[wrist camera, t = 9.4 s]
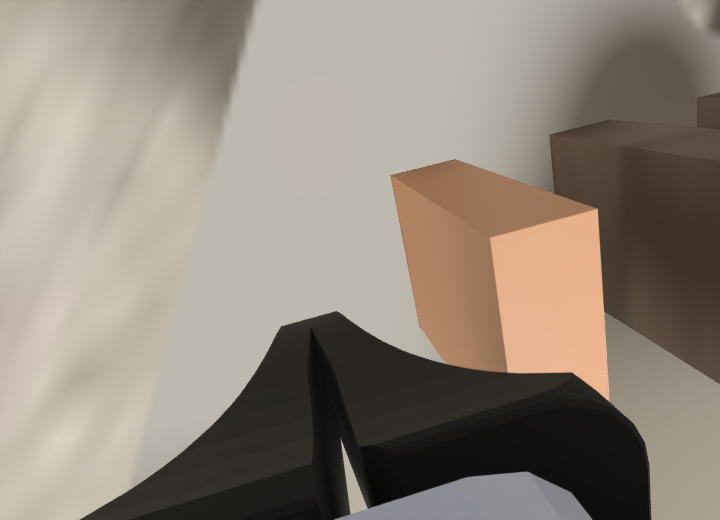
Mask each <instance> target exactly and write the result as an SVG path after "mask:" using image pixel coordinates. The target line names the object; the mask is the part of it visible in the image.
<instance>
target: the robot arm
mask: <svg viewBox="0 0 720 520" xmlns="http://www.w3.org/2000/svg"><path fill="white" fill-rule="evenodd" d="M340 437H341V439H340ZM341 440H342V443H343V445H344V448H345V451H346V453H347V456H348V458H349V461H350V464H351V466H352V469H353V471H354V474H355V477H356V479H357V482H358V484H359V487H360V490H361V492H362V495H363V497H364V500H365V503H366V505H367V508H368V509H366V510H363V511H360V512H357V513H354V514H350V507H349V500H348V492H347V484H346V477H345V469H344V462H343V454H342V446H341ZM650 502H651V501H650V472H649V461H648V456H647V451H646V446H645V442H644V441H643V439H642V437H641V435H640V434H639V432H638V430H637V429H636V427H635V426H634V424H633V423H632V422H631V421H630V420H629V419H628V418H627V417H626V416H624V415H623V414H622V413H621V412H620V411H619V410H618V409H616V408H615V407H614V406H613V405H612V404H611V403H610V402H609V401H608V400H607V399H606V398H605V397H603V396H602V395H601V394H600V393H599V392H598V391H596V390H595V389H594V388H592V387H591V386H590V385H589V384H587V383H586V382H585V381H583V380H582V379H581V378H579V377H578V376H576V375H575V374H574V373H573V372H564V373H508V372H495V371H484V370H476V369H469V368H464V367H459V366H454V365H448V364H444V363H439V362H436V361H432V360H429V359H425V358H423V357H419V356H416V355H413V354H410V353H407V352H405V351H402V350H400V349H398V348H396V347H394V346H392V345H389V344H387V343H385V342H383V341H381V340H379V339H378V338H376V337H374V336H373V335H371V334H369V333H368V332H366V331H364V330H363V329H361V328H360V327H358V326H357V325H356V324H354V323H353V322H351V321H350V320H348V319H347V318H346V317H345V316H343V315H342V314H340V313H339V312H337V311H335V312H332V313H329V314H325V315H321V316H317V317H314V318H310V319H307V320H303V321H300V322H296V323H292V324H288V325H285V326H281V328H280V329H279V331H278V333H277V334H276V336H275V338H274V340H273V342H272V344H271V346H270V348H269V350H268V352H267V354H266V356H265V357H264V359H263V361H262V362H261V364H260V366H259V367H258V369H257V371H256V372H255V374H254V375H253V377H252V378H251V380H250V381H249V382H248V384H247V385H246V387H245V388H244V390H243V391H242V392H241V394H240V395H239V396H238V397H237V399H236V400H235V401H234V402H233V403H232V405H231V406H230V407H229V408H228V409H227V410H226V411H225V412H224V414H223V415H222V416H221V417H220V418H219V419H218V420H217V421H216V422H215V423H214V424H213V425H212V426H211V427H210V428H209V429H208V430H206V431H205V433H203V434H202V435H201V436H200V437H199V438H198V439H197V440H195V441H194V442H193V443H192V444H191V445H190V446H189V447H187V449H185V450H184V451H183V452H182V453H181V454H179V455H178V456H177V457H175V458H174V459H173V460H172V461H170V462H169V463H168V464H166V465H165V466H164V467H163V468H161V469H160V470H158V471H157V472H155V473H154V474H153V475H151V476H150V477H148V478H147V479H146V480H144V481H143V482H141V483H140V484H138V485H137V486H135V487H134V488H132V489H131V490H129V491H127V492H126V493H124V494H122V495H121V496H119V497H117V498H116V499H114V500H112V501H111V502H109V503H107V504H106V505H104V506H102V507H101V508H99V509H97V510H96V511H94V512H92V513H91V514H89V515H87V516H85V517H84V518H82V519H80V520H651V503H650Z"/></svg>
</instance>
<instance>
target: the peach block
mask: <svg viewBox="0 0 720 520" xmlns="http://www.w3.org/2000/svg"><path fill="white" fill-rule="evenodd" d="M391 180H392V186H393V191H394V196H395V201H396V206H397V212H398V216H399V222H400V227H401V232H402V238H403V243H404V248H405V253H406V258H407V264H408V269H409V274H410V279H411V284H412V289H413V295H414V300H415V305H416V310H417V315H418V320H419V326H420V328H421V329H422V330H423V332H424V333H425V335H426V336H427V338H428V339H429V340H430V342H431V343H432V345H433V346H434V347H435V349H436V350H437V352H438V353H439V354H440V356H441V357H442V359H443V360H444V362H445V363H446V364H448V365H454V366H459V367H464V368H469V369H476V370H484V371H495V372H508V373H564V372H573V373H574V374H575V375H576V376H578V377H579V378H581V379H582V380H583V381H585V382H586V383H587V384H589V385H590V386H591V387H592V388H594V389H595V390H596V391H598V392H599V393H600V394H601V395H602V396H603V397H605V398H606V399H607V400H608V401H609V385H608V370H607V353H606V336H605V320H604V304H603V288H602V271H601V255H600V239H599V223H598V209H596V208H594V207H591V206H588V205H585V204H582V203H579V202H576V201H573V200H571V199H568V198H565V197H562V196H559V195H556V194H553V193H550V192H548V191H545V190H542V189H539V188H536V187H533V186H530V185H527V184H524V183H521V182H518V181H516V180H513V179H510V178H507V177H504V176H502V175H498V174H496V173H493V172H490V171H487V170H484V169H481V168H478V167H476V166H472V165H470V164H467V163H464V162H461V161H458V160H456V159H455V160H451V161H447V162H443V163H439V164H435V165H431V166H427V167H423V168H419V169H415V170H411V171H407V172H402V173H398V174H395V175H391Z"/></svg>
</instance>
